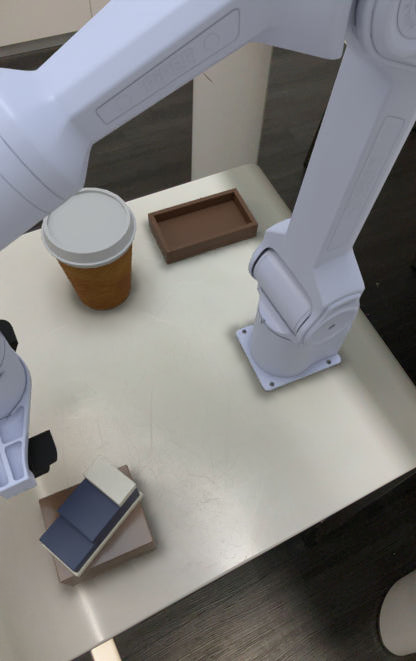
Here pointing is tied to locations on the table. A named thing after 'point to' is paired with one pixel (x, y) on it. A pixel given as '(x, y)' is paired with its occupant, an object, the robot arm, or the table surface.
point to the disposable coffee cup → (93, 245)
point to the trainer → (91, 515)
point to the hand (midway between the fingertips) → (21, 430)
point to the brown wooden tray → (202, 225)
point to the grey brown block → (119, 548)
